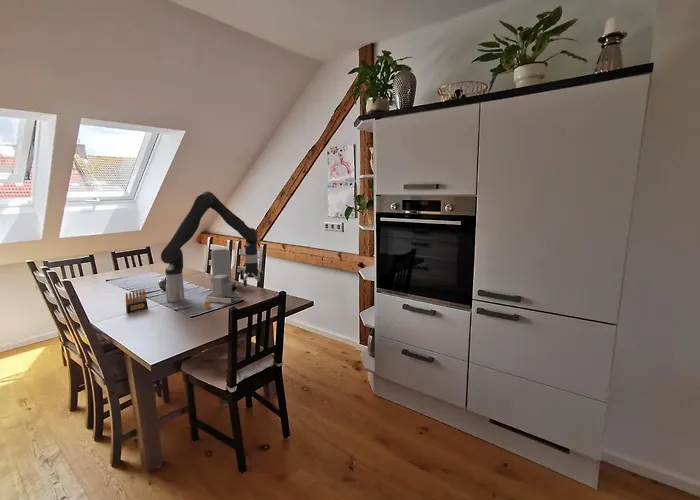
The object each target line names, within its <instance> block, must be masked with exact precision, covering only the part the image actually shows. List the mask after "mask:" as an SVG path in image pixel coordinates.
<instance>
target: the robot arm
mask: <svg viewBox="0 0 700 500" xmlns="http://www.w3.org/2000/svg"><path fill="white" fill-rule="evenodd" d="M209 209H211V210H213V211H215V212H216V213H217V214H218V215H219V216H220V217H221V218H222V219H223V220H224V222H225V223H226V224H227V225H228V226H229V227H231V228H232V229H233V230H234V231H236V232H237V233H238V234H239V235H240V236H241V237H242V238H243V239H245V246H244V267H245V269H244V268H243V269H241V270H240V271H239V273H240V274H239V279H240V280H242V282H243V286H244V287H246V288H247V286H248V278H249V279H250V278H253V279H255V280H256V281H257V283H256V284H257V285H256V287H257V288H259V289H260V287H261V286H262V282H263V281H264V280H265V279H264V270H259V256H258V231H257V230H256V228H253V227H249V226H248V225H247V224H246V222H245V221H243V220H242V219H241V218H240V217H239V216H237V215H236V214H235V213H233V212H232V211H231V210H230V209H229V208H228V207H227V206H226V205H224V204H223V202H221V201H220V199H218V197H217V196H216V195H215V194H214V193H212V191H209V190H208V191H203V192H201V193H199V194H198V195H197V196H196V198H195V199H194V201H193V203H192V206H191V208H190V209H189V211H188V213H187V214H186V215H185V217H184V218H183V220H182V221H181V222H180V225H178V227H177V230H176V231H175V233H174V235H173V236H172V237H171V239H170V241H169V242H168V244H167V245H165V247H164V248H163V249H162V251H161V253H160V260H161V261H162V263H163V264H168V267H166V268H165V271H164V272H165V279H166V285H165V288H164V289H165V296H166V301H167V302H169V303H177V302H182V301H184V300H185V288H184V287H185V286H184V277H183V268H184V255H183V250H182V249H181V248H182V247H183V246H184V245H185V244H187V243H188V242H189V241H190V240H191V239H192V238H193V237H194V235H195V234H196V233H197V230H198V229H199V226H200V224H201V221H202V218H203V216H204V215H205V213H207V211H208V210H209Z"/></svg>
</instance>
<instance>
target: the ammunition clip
mask: <svg viewBox="0 0 700 500" xmlns="http://www.w3.org/2000/svg"><path fill="white" fill-rule="evenodd" d="M125 308H126V309H125V312H126V314H129V315H130V314H132V313H137V312H140V311H141V312H142V311H144V310H148V309H149V305H148V300H147V295H146V290H145V289H144V288H143V290H141V289H139V292H138V290H136V291H134V290H133V291H132V292H131V291H129V293H128V292H126V293H125Z"/></svg>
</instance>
